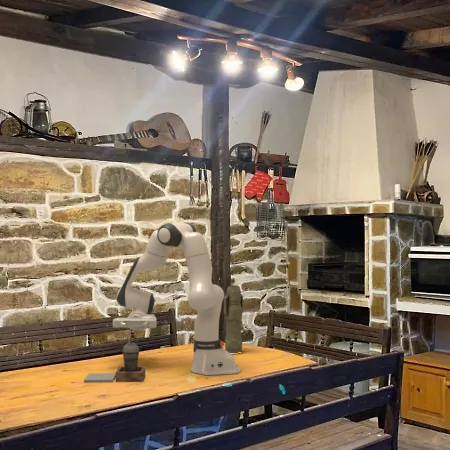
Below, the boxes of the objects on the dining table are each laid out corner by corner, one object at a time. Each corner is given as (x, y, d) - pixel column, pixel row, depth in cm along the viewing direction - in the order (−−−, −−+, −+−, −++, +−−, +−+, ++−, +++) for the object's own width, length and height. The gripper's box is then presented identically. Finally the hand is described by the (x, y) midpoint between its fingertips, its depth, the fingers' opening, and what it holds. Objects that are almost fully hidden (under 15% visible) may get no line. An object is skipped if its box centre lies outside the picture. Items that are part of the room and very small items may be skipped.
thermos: (219, 353, 318) (219, 286, 318) (235, 350, 326) (235, 284, 326) (231, 355, 312) (231, 287, 312) (247, 352, 320) (247, 285, 320)
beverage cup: (135, 380, 259) (136, 333, 259) (119, 380, 261) (119, 333, 261) (141, 376, 266) (141, 331, 266) (125, 376, 268) (125, 330, 268)
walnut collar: (145, 375, 270) (145, 366, 270) (143, 381, 258) (143, 372, 258) (118, 375, 269) (118, 366, 269) (115, 381, 257) (115, 372, 257)
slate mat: (116, 375, 269) (116, 373, 269) (112, 382, 257) (112, 379, 257) (88, 375, 268) (88, 373, 268) (83, 382, 256) (83, 380, 257)
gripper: (114, 314, 289) (110, 318, 275) (157, 314, 290) (155, 318, 276) (114, 327, 289) (110, 332, 275) (157, 327, 290) (155, 332, 276)
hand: (133, 325), depth 276 cm, fingers open, 8 cm apart
